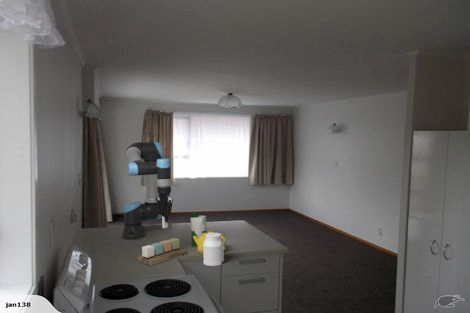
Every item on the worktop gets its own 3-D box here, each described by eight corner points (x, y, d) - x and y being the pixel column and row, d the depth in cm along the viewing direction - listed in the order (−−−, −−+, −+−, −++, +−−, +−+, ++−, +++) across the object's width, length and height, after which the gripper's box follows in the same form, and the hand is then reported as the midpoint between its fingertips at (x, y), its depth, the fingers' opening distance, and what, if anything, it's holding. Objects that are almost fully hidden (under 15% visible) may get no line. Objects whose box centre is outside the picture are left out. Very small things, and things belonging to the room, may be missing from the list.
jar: (219, 266, 191) (218, 238, 190) (201, 265, 193) (201, 237, 192) (225, 259, 202) (224, 232, 201) (208, 258, 204) (207, 231, 204)
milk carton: (194, 243, 235) (193, 211, 234) (208, 243, 233) (207, 212, 232) (189, 247, 226) (189, 214, 225) (204, 247, 224) (203, 215, 223)
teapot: (189, 253, 214) (189, 233, 213) (197, 247, 225) (197, 228, 225) (222, 256, 208) (221, 235, 207) (228, 249, 220) (228, 230, 219)
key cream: (142, 256, 200) (142, 246, 200) (149, 253, 204) (149, 245, 203) (147, 257, 197) (147, 248, 197) (154, 255, 201) (154, 246, 200)
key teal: (151, 253, 205) (151, 244, 205) (158, 251, 208) (157, 242, 208) (156, 254, 202) (156, 245, 202) (163, 252, 205) (163, 243, 205)
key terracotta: (160, 250, 209) (159, 241, 209) (166, 248, 213) (166, 240, 213) (165, 252, 206) (165, 243, 206) (171, 250, 210) (171, 241, 210)
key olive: (168, 248, 214) (168, 239, 214) (174, 246, 217) (174, 237, 217) (173, 249, 211) (173, 240, 211) (179, 247, 214) (179, 239, 214)
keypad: (135, 260, 203) (135, 256, 202) (171, 249, 222) (170, 245, 221) (151, 266, 193) (151, 261, 193) (186, 254, 212) (186, 249, 212)
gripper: (151, 186, 209) (152, 227, 210) (166, 187, 201) (167, 230, 202) (162, 184, 215) (163, 224, 216) (176, 186, 206) (177, 227, 207)
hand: (165, 227), depth 209 cm, fingers closed
